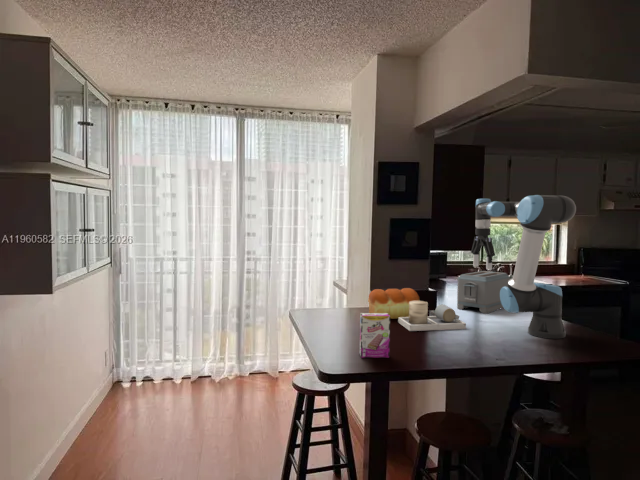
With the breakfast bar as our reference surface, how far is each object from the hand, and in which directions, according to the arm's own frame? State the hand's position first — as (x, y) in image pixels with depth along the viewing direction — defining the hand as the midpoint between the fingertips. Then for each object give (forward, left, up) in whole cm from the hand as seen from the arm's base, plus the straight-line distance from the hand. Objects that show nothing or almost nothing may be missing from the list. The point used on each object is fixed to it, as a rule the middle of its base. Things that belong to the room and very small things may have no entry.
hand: (482, 267), depth 230 cm
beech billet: (-12, +40, -25) cm, 49 cm away
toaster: (+23, -13, -27) cm, 38 cm away
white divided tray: (-12, +34, -27) cm, 45 cm away
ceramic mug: (-12, +24, -25) cm, 37 cm away
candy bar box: (-55, +74, -27) cm, 96 cm away
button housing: (+2, +23, -27) cm, 35 cm away
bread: (+11, +45, -27) cm, 54 cm away
